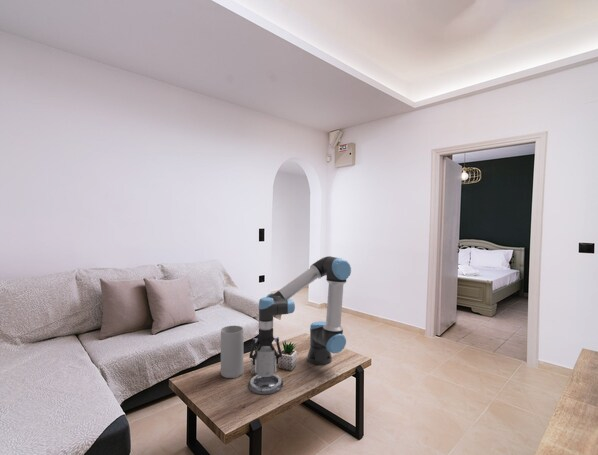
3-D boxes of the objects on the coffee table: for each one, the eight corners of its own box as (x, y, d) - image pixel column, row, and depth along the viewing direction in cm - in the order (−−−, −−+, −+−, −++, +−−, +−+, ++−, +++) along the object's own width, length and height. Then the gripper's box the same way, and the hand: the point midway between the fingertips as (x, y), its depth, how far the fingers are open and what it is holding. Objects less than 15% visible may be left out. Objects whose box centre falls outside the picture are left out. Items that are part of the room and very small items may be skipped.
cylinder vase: (230, 381, 169) (230, 334, 169) (216, 374, 177) (216, 329, 176) (248, 372, 179) (248, 328, 179) (233, 366, 187) (233, 324, 186)
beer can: (254, 376, 161) (254, 352, 161) (259, 367, 170) (259, 345, 170) (272, 377, 160) (272, 353, 159) (276, 368, 169) (276, 346, 169)
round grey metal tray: (282, 376, 175) (282, 371, 175) (283, 393, 157) (283, 388, 157) (249, 377, 173) (249, 373, 173) (247, 395, 155) (247, 390, 155)
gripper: (243, 330, 160) (243, 374, 160) (287, 329, 162) (287, 373, 162) (244, 326, 167) (244, 367, 168) (286, 325, 169) (286, 366, 170)
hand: (265, 370), depth 165 cm, fingers closed on beer can, 9 cm apart
